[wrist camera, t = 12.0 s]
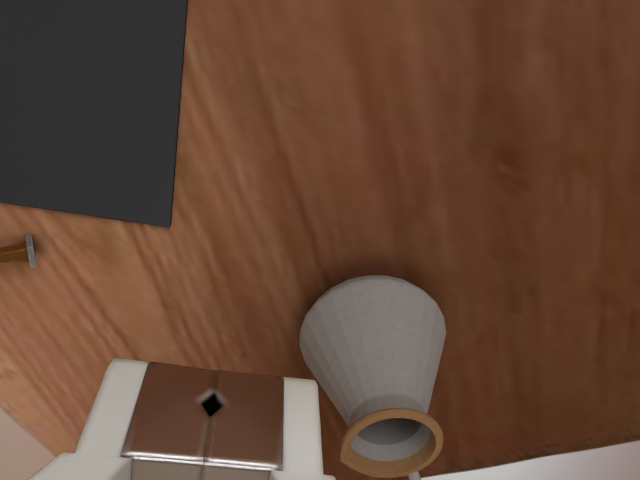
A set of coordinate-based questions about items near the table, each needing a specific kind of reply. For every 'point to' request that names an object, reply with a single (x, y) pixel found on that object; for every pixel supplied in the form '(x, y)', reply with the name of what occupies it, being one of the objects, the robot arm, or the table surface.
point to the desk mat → (91, 105)
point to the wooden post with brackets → (19, 252)
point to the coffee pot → (378, 370)
